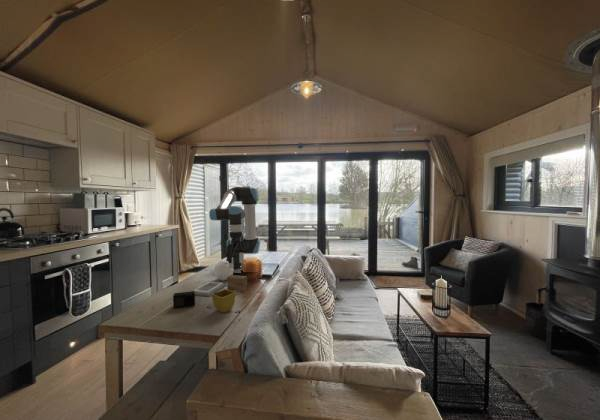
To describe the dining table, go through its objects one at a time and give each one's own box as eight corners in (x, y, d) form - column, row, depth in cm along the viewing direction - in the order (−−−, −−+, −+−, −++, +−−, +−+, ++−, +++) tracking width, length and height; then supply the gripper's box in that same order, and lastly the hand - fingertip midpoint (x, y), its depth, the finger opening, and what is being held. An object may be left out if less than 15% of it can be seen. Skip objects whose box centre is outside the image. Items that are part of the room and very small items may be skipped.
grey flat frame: (208, 283, 182) (208, 280, 181) (227, 285, 178) (227, 282, 178) (188, 294, 162) (188, 291, 162) (209, 296, 159) (209, 293, 159)
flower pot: (222, 315, 134) (221, 297, 134) (211, 311, 140) (211, 293, 139) (236, 309, 141) (236, 292, 141) (225, 305, 147) (225, 288, 146)
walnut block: (231, 287, 174) (230, 275, 174) (247, 288, 171) (246, 276, 171) (227, 289, 170) (227, 277, 169) (243, 291, 167) (243, 278, 166)
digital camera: (173, 309, 142) (172, 296, 141) (174, 305, 147) (174, 292, 146) (194, 307, 145) (193, 294, 144) (195, 303, 150) (194, 290, 149)
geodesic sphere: (242, 271, 190) (233, 254, 193) (227, 276, 178) (217, 258, 182) (230, 280, 196) (222, 264, 200) (215, 286, 185) (206, 268, 188)
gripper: (239, 228, 181) (240, 260, 182) (219, 233, 157) (220, 270, 158) (250, 228, 179) (250, 260, 180) (231, 234, 155) (231, 271, 156)
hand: (236, 265), depth 169 cm, fingers open, 13 cm apart
